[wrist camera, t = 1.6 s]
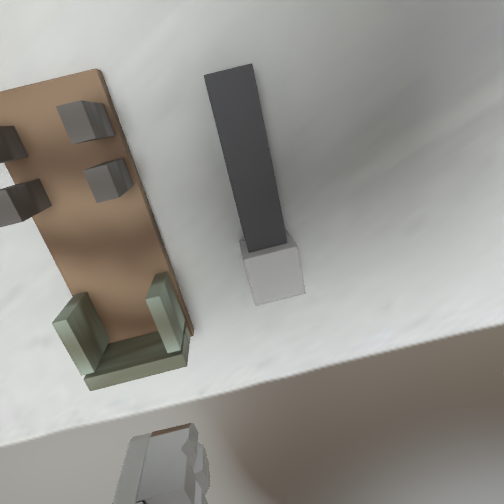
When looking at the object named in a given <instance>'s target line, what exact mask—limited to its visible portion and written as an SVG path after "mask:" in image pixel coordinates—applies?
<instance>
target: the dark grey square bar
mask: <svg viewBox="0 0 504 504" xmlns="http://www.w3.org/2000/svg"><path fill="white" fill-rule="evenodd" d="M204 78H205V82H206V86H207V90H208V94H209V98H210V102H211V106H212V110H213V114H214V118H215V122H216V126H217V130H218V134H219V138H220V142H221V146H222V150H223V154H224V158H225V162H226V166H227V170H228V174H229V178H230V182H231V186H232V190H233V194H234V198H235V202H236V206H237V210H238V214H239V218H240V222H241V226H242V230H243V234H244V238H245V240H242V241H239V243H240V247H241V252H242V256H243V261H244V265H245V269H246V272H247V276H248V280H249V284H250V288H251V292H252V295H253V299H254V303H255V306H258V305H262V304H266V303H270V302H274V301H278V300H282V299H286V298H289V297H293V296H297V295H301V294H305V293H306V291H305V286H304V280H303V275H302V270H301V264H300V259H299V253H298V248H297V245H296V244H295V242H294V241H293V239H292V238H291V236H290V235H289V233H288V232H287V230H286V229H285V228H284V223H283V218H282V213H281V207H280V202H279V197H278V192H277V187H276V182H275V177H274V172H273V167H272V162H271V157H270V152H269V147H268V142H267V136H266V131H265V126H264V121H263V116H262V111H261V106H260V101H259V96H258V91H257V86H256V81H255V76H254V70H253V65H252V64H248V65H244V66H240V67H236V68H232V69H227V70H223V71H219V72H215V73H211V74H207V75H204Z"/></svg>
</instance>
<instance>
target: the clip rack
mask: <svg viewBox="0 0 504 504" xmlns="http://www.w3.org/2000/svg"><path fill="white" fill-rule="evenodd" d="M0 163H5V165H6V167H7V169H8V171H9V173H10V175H11V177H12V179H13V181H14V183H15V185H13V186H9V187H6V188H3V189H0V227H3V226H7V225H11V224H15V223H19V222H23V221H25V220H27V219H28V218H30V217H32V218H33V220H34V222H35V224H36V226H37V228H38V230H39V232H40V233H41V235H42V237H43V239H44V241H45V243H46V245H47V247H48V249H49V251H50V253H51V255H52V257H53V259H54V261H55V263H56V265H57V267H58V269H59V270H60V272H61V274H62V276H63V278H64V280H65V282H66V284H67V286H68V288H69V290H70V292H71V294H72V296H73V297H72V299H71V300H70V301H69V302H68V304H67V305H66V306H65V307H64V309H63V310H62V311H61V312H60V314H59V315H58V316H57V317H56V319H55V320H54V321H53V322H52V324H53V326H54V328H55V330H56V332H57V333H58V335H59V337H60V339H61V340H62V342H63V344H64V346H65V347H66V349H67V351H68V353H69V355H70V356H71V358H72V360H73V362H74V363H75V365H76V367H77V369H78V371H79V372H80V374H81V376H82V375H85V374H86V376H85V378H84V381H85V383H86V385H87V387H88V388H89V390H90V391H93V390H97V389H101V388H105V387H109V386H113V385H116V384H120V383H124V382H128V381H132V380H136V379H140V378H144V377H148V376H151V375H155V374H159V373H163V372H167V371H171V370H175V369H179V368H182V367H186V366H187V362H188V353H189V343H190V337H191V336H193V334H194V328H193V325H192V323H191V320H190V317H189V314H188V311H187V309H186V306H185V303H184V300H183V298H182V295H181V292H180V289H179V286H178V284H177V281H176V278H175V275H174V273H173V270H172V267H171V264H170V261H169V259H168V256H167V253H166V250H165V248H164V245H163V242H162V239H161V236H160V234H159V231H158V228H157V225H156V222H155V220H154V217H153V214H152V211H151V209H150V206H149V203H148V200H147V197H146V195H145V192H144V189H143V186H142V184H141V181H140V178H139V175H138V172H137V170H136V167H135V164H134V161H133V159H132V156H131V153H130V150H129V147H128V145H127V142H126V139H125V136H124V133H123V131H122V128H121V125H120V122H119V120H118V117H117V114H116V111H115V108H114V106H113V103H112V100H111V97H110V95H109V92H108V89H107V86H106V83H105V81H104V78H103V75H102V72H101V71H100V70H98V69H92V70H88V71H84V72H80V73H76V74H72V75H67V76H63V77H59V78H55V79H51V80H47V81H43V82H39V83H34V84H30V85H26V86H22V87H18V88H14V89H10V90H6V91H1V92H0Z"/></svg>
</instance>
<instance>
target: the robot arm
mask: <svg viewBox="0 0 504 504" xmlns="http://www.w3.org/2000/svg"><path fill="white" fill-rule="evenodd" d="M209 487H210V472H209V463H208V458H207V454H206V451H205V448H204V446H203V444H201V443H199V442H198V431H197V429H196V427H195V425H194V423H189V424H185V425H181V426H176V427H172V428H168V429H164V430H159V431H155V432H152V433H148V434H144V435H139V436H135V437H133V438H132V439H131V441H130V442H129V444H128V448H127V451H126V455H125V459H124V462H123V466H122V470H121V474H120V477H119V481H118V484H117V488H116V492H115V495H114V499H113V503H112V504H208V503H207V500H206V498H205V494H206V493H207V491H208V489H209Z"/></svg>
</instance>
